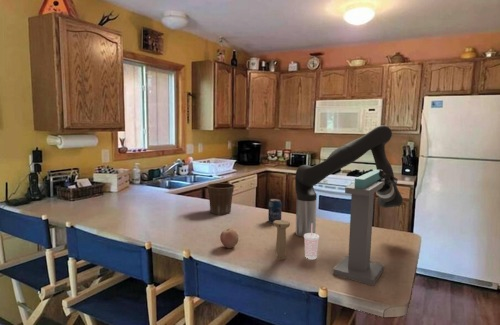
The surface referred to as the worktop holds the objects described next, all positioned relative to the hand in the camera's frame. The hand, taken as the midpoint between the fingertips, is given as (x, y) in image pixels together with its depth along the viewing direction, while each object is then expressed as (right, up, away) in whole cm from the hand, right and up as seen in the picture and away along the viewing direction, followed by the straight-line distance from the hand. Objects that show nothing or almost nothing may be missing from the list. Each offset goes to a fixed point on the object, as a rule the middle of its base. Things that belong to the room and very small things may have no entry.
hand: (375, 171), depth 128 cm
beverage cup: (-24, -35, +5) cm, 42 cm away
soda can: (-35, -29, +51) cm, 68 cm away
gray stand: (-8, -36, -6) cm, 37 cm away
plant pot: (-66, -26, +68) cm, 98 cm away
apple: (-57, -33, +15) cm, 68 cm away
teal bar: (-4, -4, -6) cm, 8 cm away
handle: (-36, -35, +3) cm, 50 cm away
